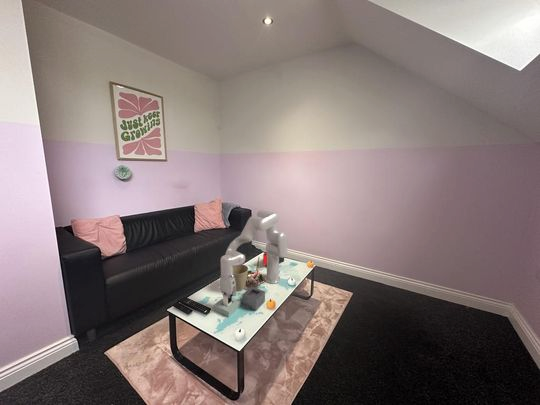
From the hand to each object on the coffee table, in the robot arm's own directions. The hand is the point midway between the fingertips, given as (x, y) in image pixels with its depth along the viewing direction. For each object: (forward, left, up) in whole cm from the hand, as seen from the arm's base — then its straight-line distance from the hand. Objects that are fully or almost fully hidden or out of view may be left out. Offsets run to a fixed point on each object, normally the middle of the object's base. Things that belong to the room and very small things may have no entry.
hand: (227, 301), depth 132 cm
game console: (-69, -2, -5) cm, 69 cm away
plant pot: (-20, -7, -5) cm, 22 cm away
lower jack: (0, 0, -5) cm, 5 cm away
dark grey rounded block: (-12, +12, -5) cm, 18 cm away
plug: (0, 0, -3) cm, 3 cm away
